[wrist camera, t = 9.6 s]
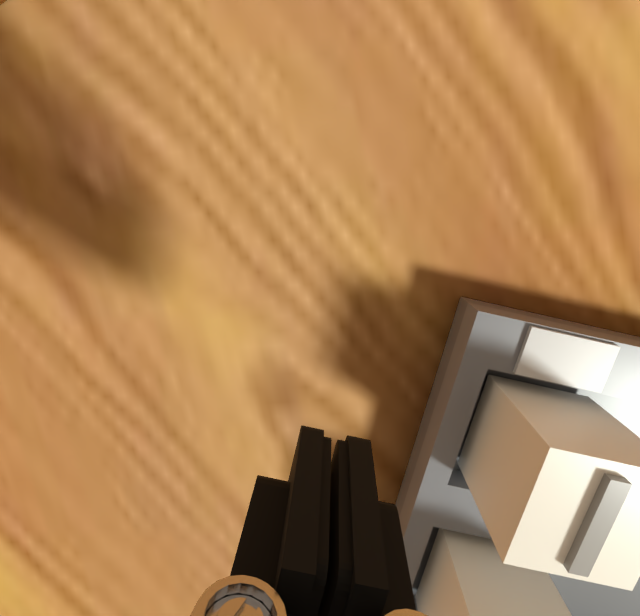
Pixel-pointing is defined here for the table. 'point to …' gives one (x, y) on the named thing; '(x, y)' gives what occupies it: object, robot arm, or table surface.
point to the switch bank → (461, 403)
